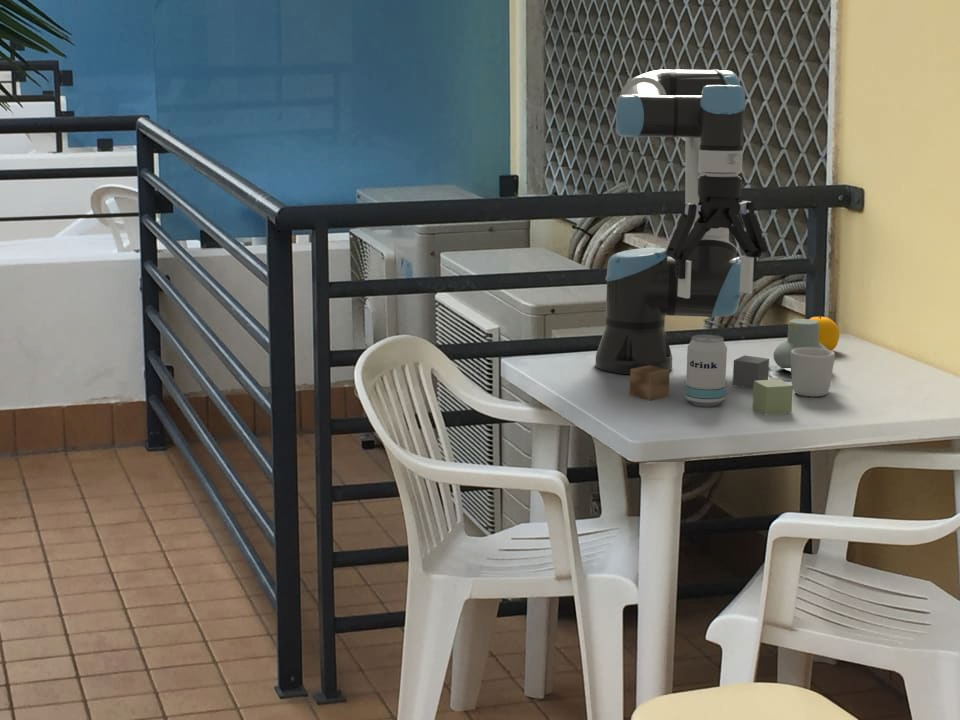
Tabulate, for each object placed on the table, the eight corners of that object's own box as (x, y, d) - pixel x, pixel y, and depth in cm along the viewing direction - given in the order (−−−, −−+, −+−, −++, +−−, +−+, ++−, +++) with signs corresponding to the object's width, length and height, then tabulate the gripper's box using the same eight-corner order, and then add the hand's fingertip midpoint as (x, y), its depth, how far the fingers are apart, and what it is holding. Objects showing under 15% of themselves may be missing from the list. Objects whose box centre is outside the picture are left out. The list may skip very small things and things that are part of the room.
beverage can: (681, 405, 262) (684, 339, 259) (690, 397, 268) (692, 332, 266) (719, 409, 260) (722, 343, 257) (727, 400, 266) (730, 335, 263)
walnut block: (629, 395, 269) (630, 369, 268) (648, 391, 273) (649, 365, 271) (650, 400, 266) (651, 374, 265) (668, 396, 269) (669, 369, 268)
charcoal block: (732, 386, 277) (733, 360, 276) (743, 380, 281) (744, 355, 280) (757, 389, 275) (758, 363, 273) (767, 384, 279) (769, 358, 277)
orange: (817, 357, 302) (819, 321, 300) (791, 349, 308) (793, 314, 307) (846, 353, 306) (848, 317, 304) (819, 346, 312) (822, 311, 311)
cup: (807, 384, 279) (810, 342, 277) (846, 390, 274) (849, 348, 272) (780, 394, 271) (782, 352, 269) (820, 401, 266) (822, 358, 264)
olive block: (752, 408, 261) (753, 380, 260) (777, 406, 263) (779, 379, 261) (765, 415, 257) (767, 387, 255) (791, 413, 258) (793, 385, 257)
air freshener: (787, 377, 284) (790, 327, 281) (765, 368, 291) (768, 319, 289) (836, 374, 287) (839, 323, 285) (814, 365, 295) (817, 316, 293)
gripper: (673, 177, 248) (669, 302, 252) (790, 174, 259) (784, 293, 264) (648, 174, 255) (644, 296, 259) (763, 171, 266) (757, 288, 270)
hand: (715, 295), depth 261 cm, fingers open, 13 cm apart
